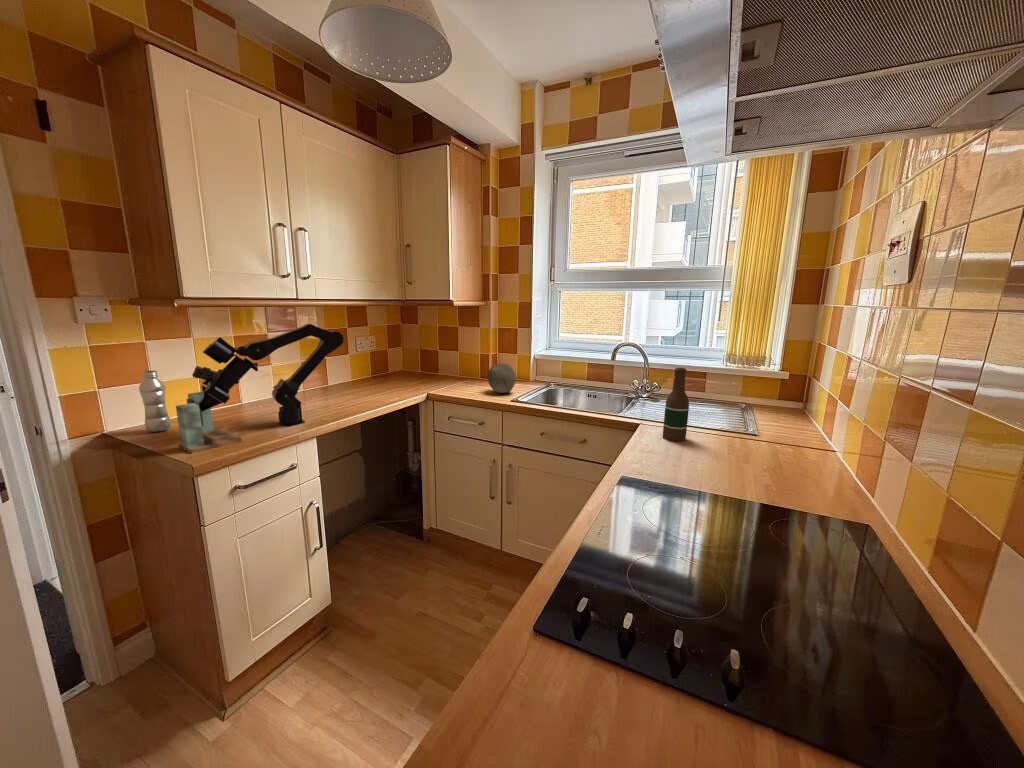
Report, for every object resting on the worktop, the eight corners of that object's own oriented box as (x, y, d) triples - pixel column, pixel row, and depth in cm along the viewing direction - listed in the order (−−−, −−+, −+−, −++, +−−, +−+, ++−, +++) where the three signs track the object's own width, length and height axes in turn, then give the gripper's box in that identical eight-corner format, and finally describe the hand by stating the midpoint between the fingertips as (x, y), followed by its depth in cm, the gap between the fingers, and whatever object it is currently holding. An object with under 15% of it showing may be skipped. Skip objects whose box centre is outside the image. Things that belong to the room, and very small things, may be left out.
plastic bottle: (157, 434, 131) (147, 373, 128) (140, 433, 133) (130, 372, 129) (177, 428, 138) (168, 370, 134) (160, 427, 139) (151, 369, 135)
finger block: (207, 427, 133) (202, 391, 131) (213, 429, 131) (208, 393, 128) (190, 431, 129) (185, 394, 127) (196, 433, 127) (191, 396, 125)
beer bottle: (667, 433, 143) (674, 365, 138) (690, 438, 137) (697, 368, 133) (657, 438, 137) (664, 367, 133) (680, 443, 132) (687, 370, 127)
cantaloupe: (519, 392, 205) (520, 362, 202) (508, 397, 192) (508, 366, 189) (494, 389, 211) (495, 360, 208) (481, 394, 198) (481, 364, 195)
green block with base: (227, 435, 132) (223, 396, 129) (241, 441, 127) (236, 400, 124) (178, 447, 121) (172, 404, 118) (191, 453, 116) (185, 409, 114)
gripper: (206, 353, 135) (168, 390, 131) (211, 360, 121) (168, 401, 116) (238, 374, 142) (202, 410, 137) (245, 383, 128) (206, 423, 123)
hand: (194, 410), depth 128 cm, fingers closed on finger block, 5 cm apart
